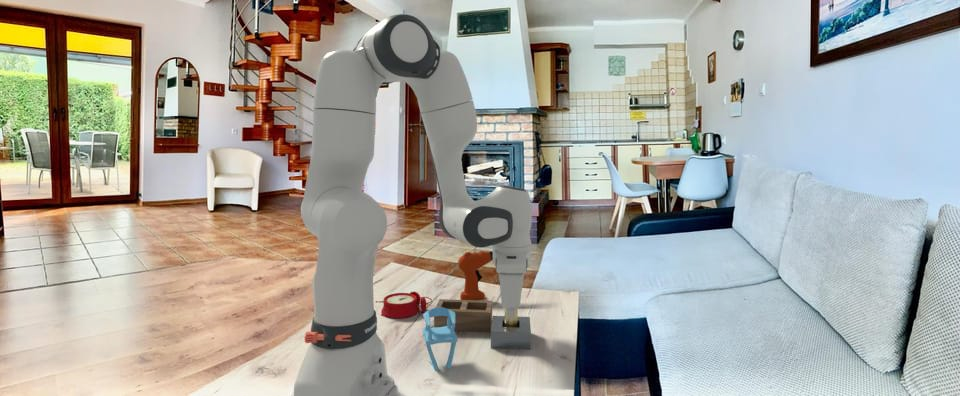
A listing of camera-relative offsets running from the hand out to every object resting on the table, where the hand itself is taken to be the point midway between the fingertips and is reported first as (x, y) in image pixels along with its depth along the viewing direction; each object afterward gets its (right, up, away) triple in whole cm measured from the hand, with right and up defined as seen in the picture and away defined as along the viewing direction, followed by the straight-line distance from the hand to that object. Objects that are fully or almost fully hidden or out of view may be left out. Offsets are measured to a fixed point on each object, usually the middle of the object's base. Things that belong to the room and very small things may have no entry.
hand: (511, 313), depth 105 cm
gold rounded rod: (0, -7, +1) cm, 7 cm away
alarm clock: (-28, -5, +22) cm, 36 cm away
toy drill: (-5, -4, +33) cm, 34 cm away
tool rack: (-11, -6, +10) cm, 16 cm away
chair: (-16, -9, -9) cm, 20 cm away
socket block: (0, -8, +1) cm, 8 cm away
